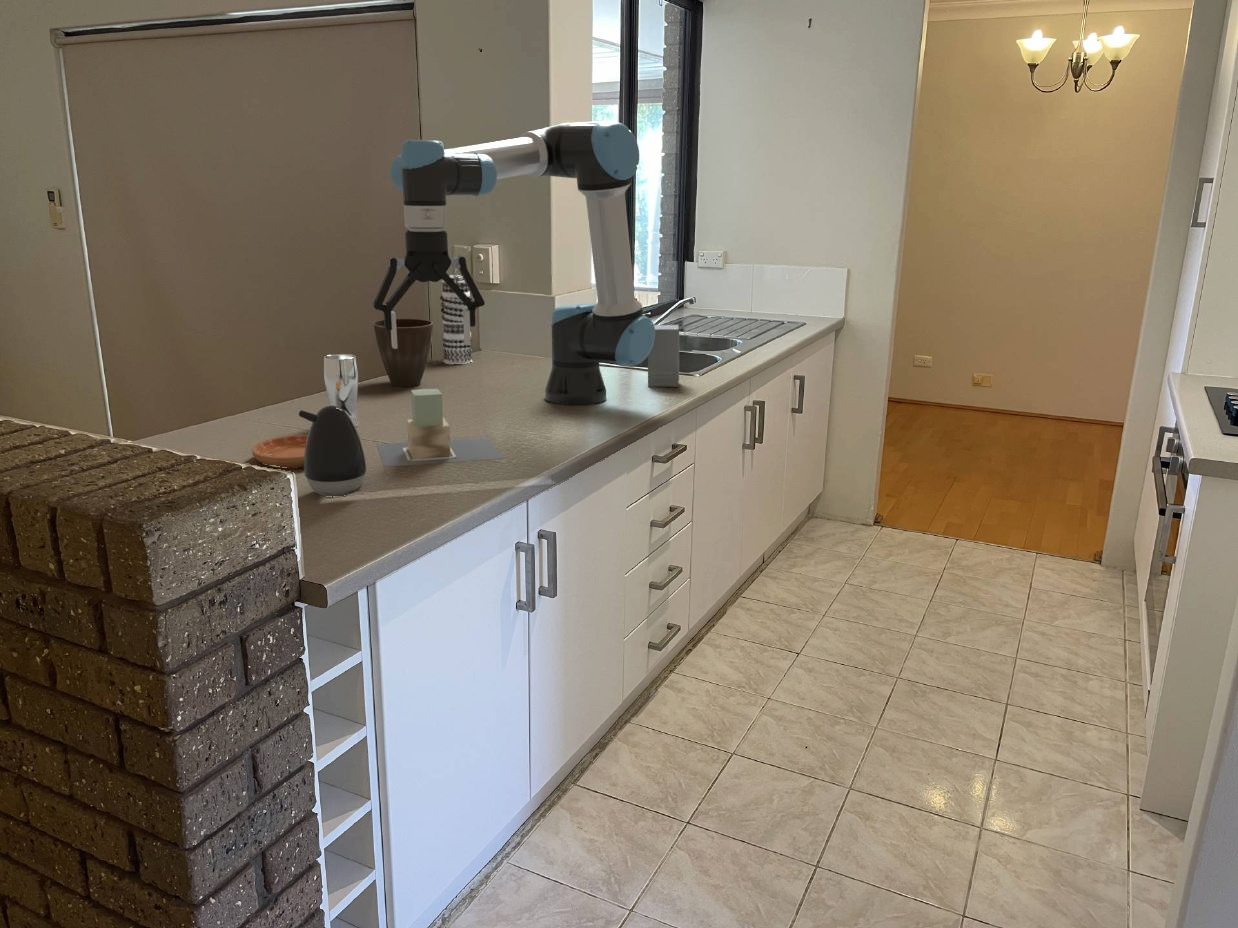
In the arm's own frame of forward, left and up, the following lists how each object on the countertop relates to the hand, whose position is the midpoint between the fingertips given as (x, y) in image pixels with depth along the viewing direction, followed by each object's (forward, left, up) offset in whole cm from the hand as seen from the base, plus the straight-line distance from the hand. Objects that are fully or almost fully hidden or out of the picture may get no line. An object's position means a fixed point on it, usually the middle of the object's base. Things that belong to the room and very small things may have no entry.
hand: (431, 346), depth 179 cm
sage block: (+2, +2, -14) cm, 15 cm away
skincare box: (-67, -52, -22) cm, 88 cm away
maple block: (+2, +2, -20) cm, 21 cm away
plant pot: (-2, -69, -22) cm, 72 cm away
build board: (0, +1, -22) cm, 22 cm away
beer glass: (+16, -29, -22) cm, 39 cm away
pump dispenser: (+20, +18, -22) cm, 34 cm away
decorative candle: (-20, -97, -22) cm, 101 cm away
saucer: (+26, -5, -22) cm, 34 cm away
